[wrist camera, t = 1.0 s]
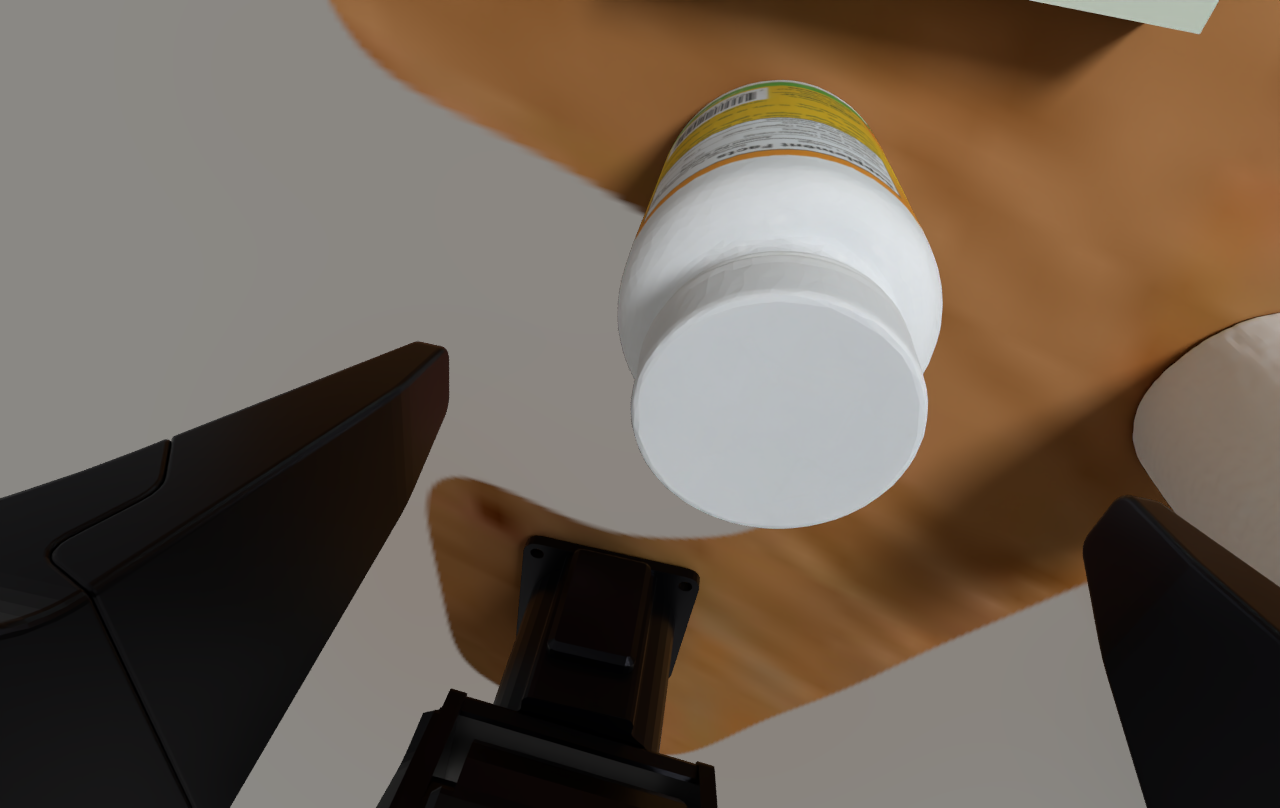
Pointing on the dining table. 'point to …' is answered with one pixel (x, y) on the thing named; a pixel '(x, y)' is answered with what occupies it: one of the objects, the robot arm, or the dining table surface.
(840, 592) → the dining table surface
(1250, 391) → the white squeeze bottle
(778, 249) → the supplement bottle
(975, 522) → the dining table surface
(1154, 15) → the tray
